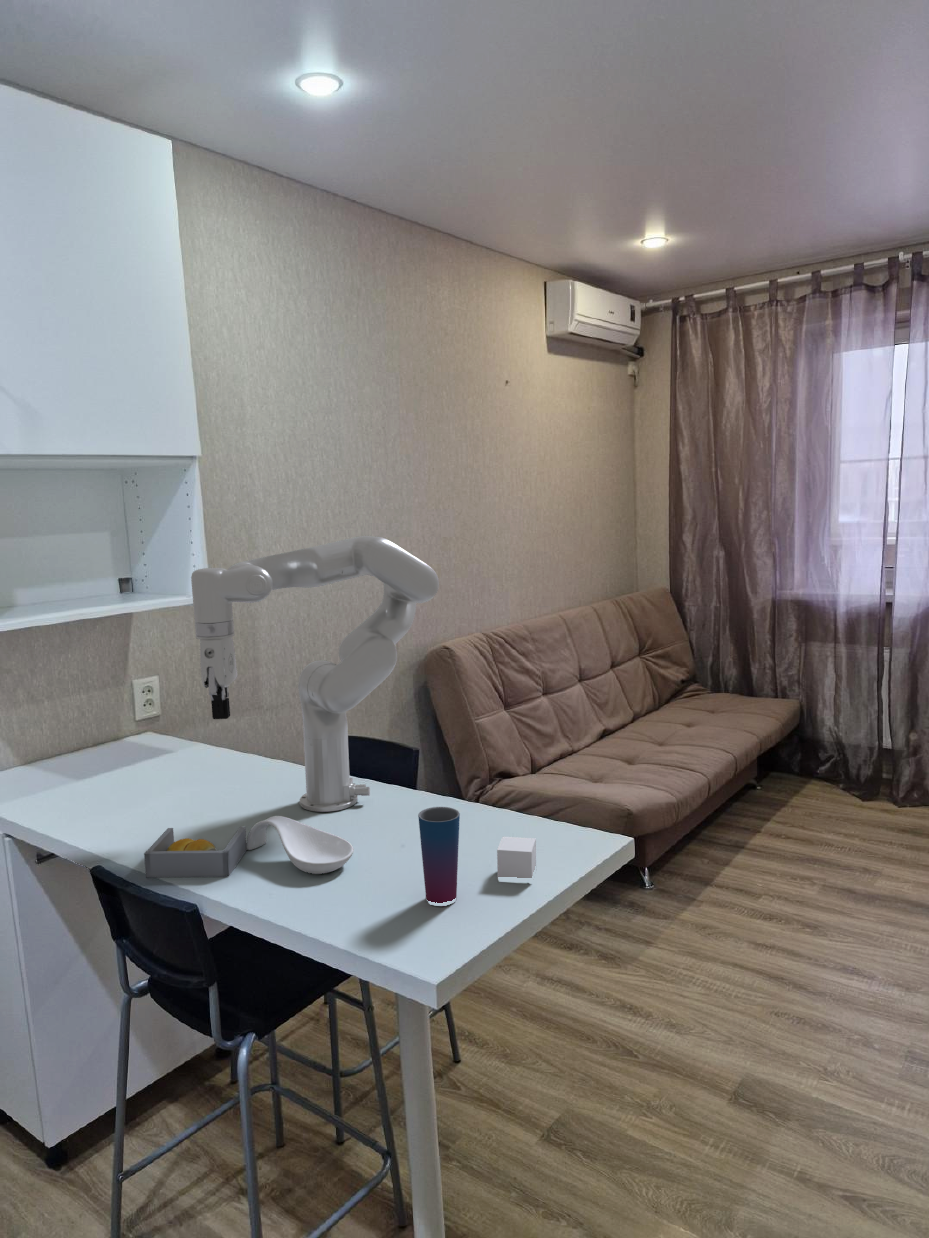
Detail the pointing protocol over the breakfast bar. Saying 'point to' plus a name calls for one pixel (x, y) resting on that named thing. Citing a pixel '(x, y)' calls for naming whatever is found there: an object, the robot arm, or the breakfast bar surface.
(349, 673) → the robot arm
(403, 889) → the breakfast bar surface
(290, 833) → the spoon rest
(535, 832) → the breakfast bar surface
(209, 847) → the bread roll
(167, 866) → the box
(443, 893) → the cup
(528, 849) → the white cube
